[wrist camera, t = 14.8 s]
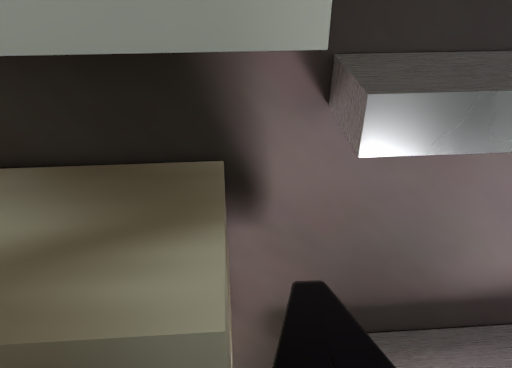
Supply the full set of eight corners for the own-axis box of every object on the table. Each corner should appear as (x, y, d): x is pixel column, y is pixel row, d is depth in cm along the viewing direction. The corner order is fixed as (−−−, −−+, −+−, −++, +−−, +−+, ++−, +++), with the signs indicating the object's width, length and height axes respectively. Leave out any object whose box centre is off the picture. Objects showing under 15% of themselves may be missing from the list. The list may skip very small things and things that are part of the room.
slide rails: (842, 43, 8) (1010, 77, 6) (618, 337, 13) (677, 401, 11) (-169, 63, 7) (-297, 111, 5) (9, 377, 12) (-27, 454, 10)
